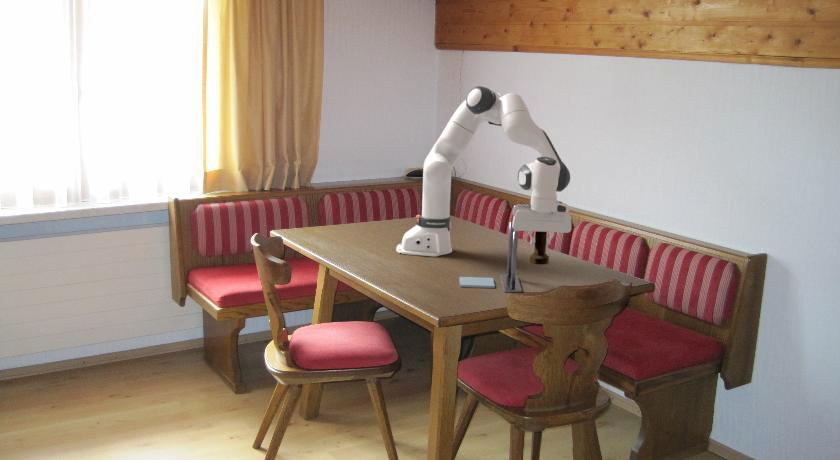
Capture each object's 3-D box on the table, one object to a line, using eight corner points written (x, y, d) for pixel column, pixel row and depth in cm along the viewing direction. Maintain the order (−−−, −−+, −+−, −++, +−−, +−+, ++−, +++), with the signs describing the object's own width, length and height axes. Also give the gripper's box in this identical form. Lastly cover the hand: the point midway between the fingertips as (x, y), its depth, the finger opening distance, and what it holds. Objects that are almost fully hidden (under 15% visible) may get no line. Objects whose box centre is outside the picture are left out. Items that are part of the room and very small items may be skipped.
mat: (460, 287, 298) (460, 284, 298) (459, 278, 308) (459, 276, 308) (494, 288, 298) (494, 285, 298) (492, 280, 308) (492, 277, 308)
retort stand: (504, 292, 294) (507, 232, 289) (500, 277, 312) (503, 220, 308) (521, 293, 294) (525, 233, 289) (516, 277, 312) (519, 221, 308)
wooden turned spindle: (535, 258, 305) (538, 209, 301) (551, 262, 302) (555, 212, 298) (526, 262, 300) (529, 212, 296) (543, 266, 296) (546, 214, 292)
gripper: (513, 205, 293) (511, 244, 297) (573, 208, 293) (570, 247, 296) (512, 201, 300) (509, 240, 303) (571, 204, 299) (568, 242, 302)
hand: (540, 243), depth 299 cm, fingers closed on wooden turned spindle, 4 cm apart
